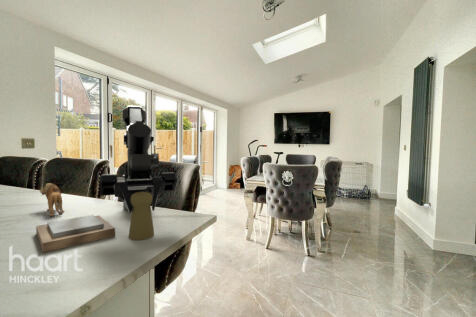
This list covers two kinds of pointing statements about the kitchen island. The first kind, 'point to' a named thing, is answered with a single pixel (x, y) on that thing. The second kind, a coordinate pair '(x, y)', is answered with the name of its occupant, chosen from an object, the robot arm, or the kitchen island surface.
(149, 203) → the cork
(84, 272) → the kitchen island surface
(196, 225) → the kitchen island surface
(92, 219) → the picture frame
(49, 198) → the lion figurine
